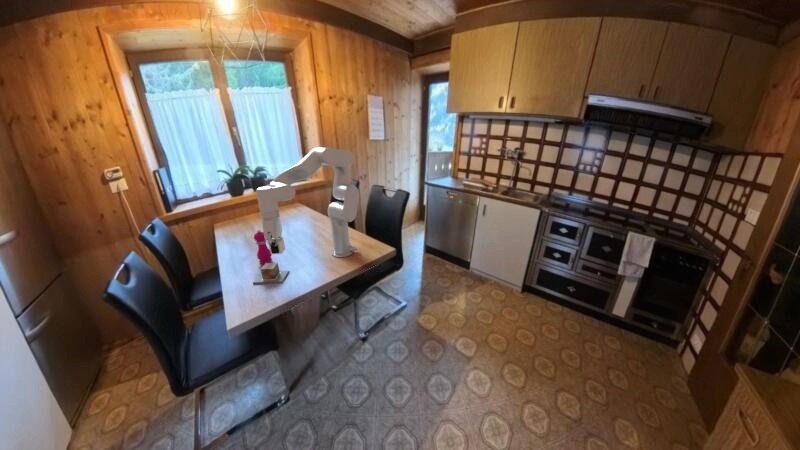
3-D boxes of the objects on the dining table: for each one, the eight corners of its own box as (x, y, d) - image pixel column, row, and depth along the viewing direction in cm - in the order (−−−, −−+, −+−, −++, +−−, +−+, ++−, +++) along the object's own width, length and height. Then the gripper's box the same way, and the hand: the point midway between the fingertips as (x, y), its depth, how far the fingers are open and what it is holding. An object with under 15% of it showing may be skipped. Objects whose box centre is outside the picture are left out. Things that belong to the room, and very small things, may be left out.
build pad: (289, 272, 139) (288, 270, 139) (282, 282, 130) (281, 281, 129) (262, 273, 139) (261, 271, 138) (253, 284, 129) (252, 282, 129)
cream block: (285, 248, 128) (283, 237, 125) (281, 253, 123) (279, 242, 121) (274, 249, 127) (272, 238, 125) (270, 254, 123) (268, 242, 120)
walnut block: (279, 272, 137) (277, 262, 135) (275, 279, 131) (272, 268, 129) (268, 273, 137) (265, 263, 134) (263, 279, 131) (260, 269, 129)
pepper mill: (258, 266, 145) (250, 233, 138) (259, 260, 151) (251, 228, 144) (272, 263, 148) (265, 230, 140) (273, 258, 154) (266, 226, 147)
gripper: (268, 208, 126) (276, 243, 132) (253, 221, 110) (262, 259, 117) (285, 208, 126) (291, 242, 133) (272, 220, 111) (279, 258, 117)
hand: (277, 249), depth 125 cm, fingers closed on cream block, 5 cm apart
